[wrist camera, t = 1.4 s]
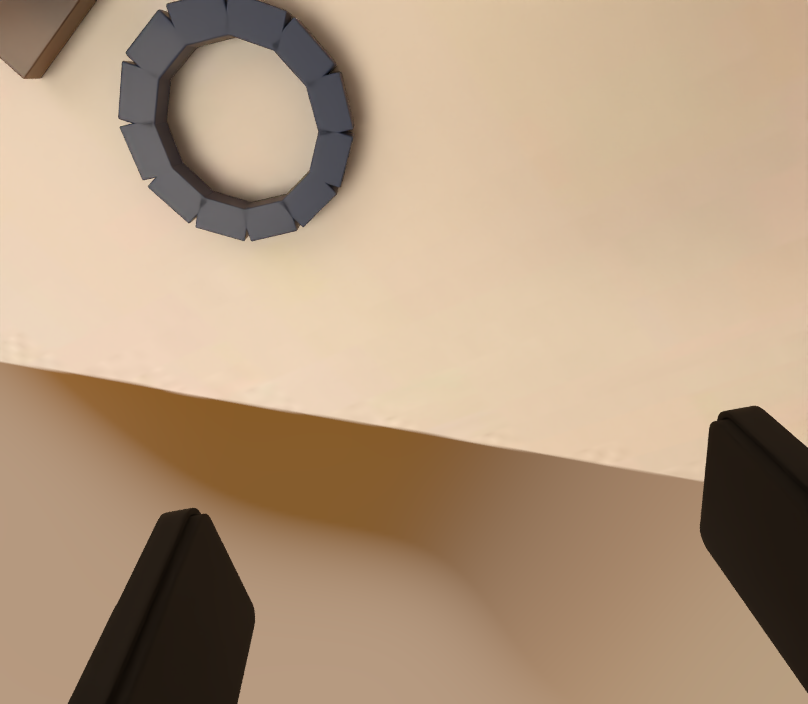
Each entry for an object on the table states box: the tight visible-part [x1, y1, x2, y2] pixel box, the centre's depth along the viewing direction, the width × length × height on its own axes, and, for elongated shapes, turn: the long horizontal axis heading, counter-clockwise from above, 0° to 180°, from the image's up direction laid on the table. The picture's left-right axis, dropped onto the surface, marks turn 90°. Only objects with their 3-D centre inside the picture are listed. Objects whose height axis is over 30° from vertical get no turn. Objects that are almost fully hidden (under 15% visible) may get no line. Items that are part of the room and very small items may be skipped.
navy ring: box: [118, 0, 354, 241], centre depth 28 cm, size 12×12×2 cm
